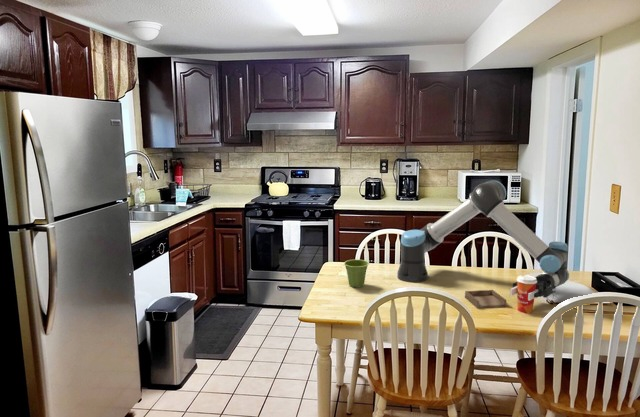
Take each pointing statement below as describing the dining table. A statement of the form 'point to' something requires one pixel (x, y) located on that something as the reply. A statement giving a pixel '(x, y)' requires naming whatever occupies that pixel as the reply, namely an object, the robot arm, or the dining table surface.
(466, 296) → the walnut bay
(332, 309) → the dining table surface
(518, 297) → the paper cup
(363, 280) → the plant pot
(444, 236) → the robot arm
